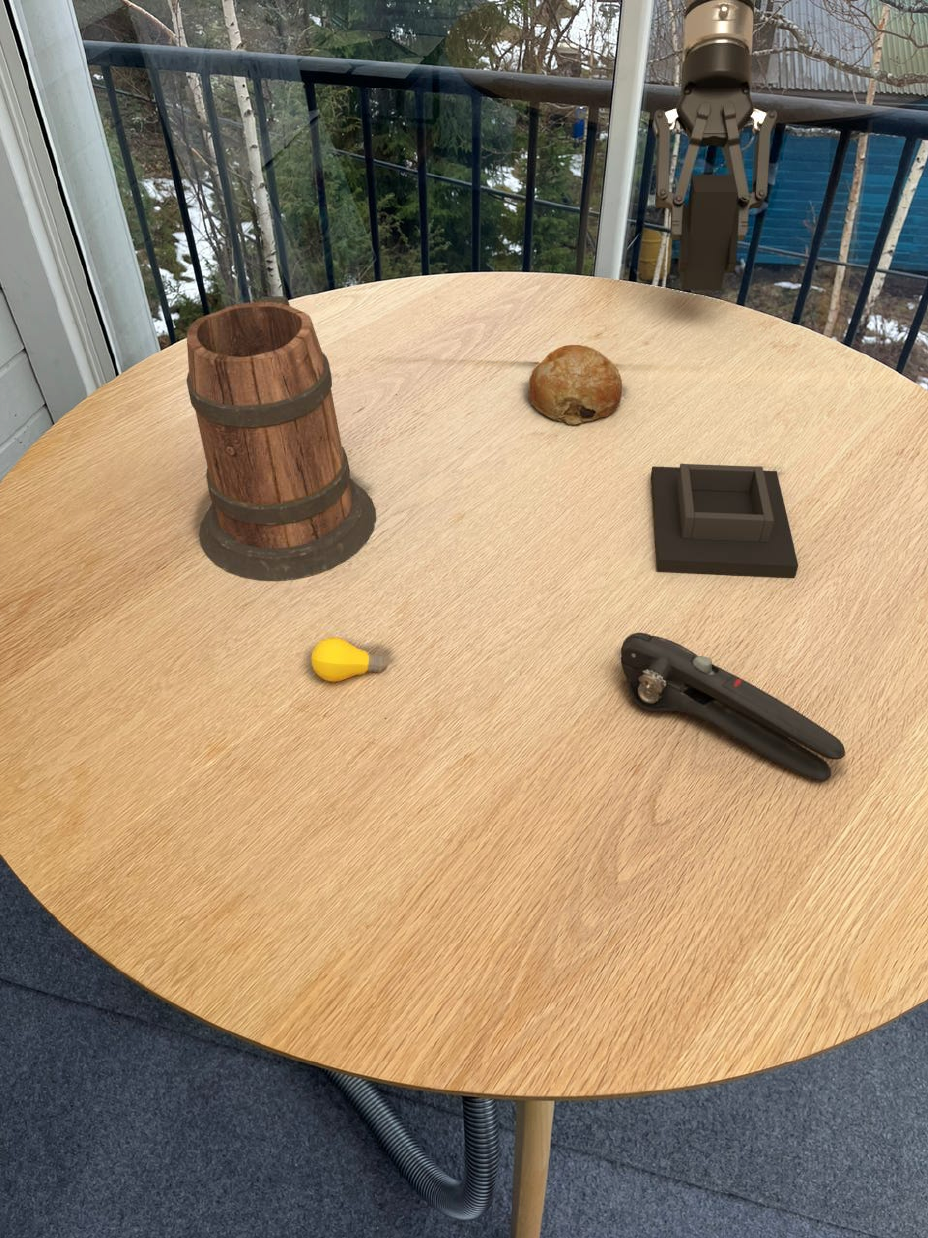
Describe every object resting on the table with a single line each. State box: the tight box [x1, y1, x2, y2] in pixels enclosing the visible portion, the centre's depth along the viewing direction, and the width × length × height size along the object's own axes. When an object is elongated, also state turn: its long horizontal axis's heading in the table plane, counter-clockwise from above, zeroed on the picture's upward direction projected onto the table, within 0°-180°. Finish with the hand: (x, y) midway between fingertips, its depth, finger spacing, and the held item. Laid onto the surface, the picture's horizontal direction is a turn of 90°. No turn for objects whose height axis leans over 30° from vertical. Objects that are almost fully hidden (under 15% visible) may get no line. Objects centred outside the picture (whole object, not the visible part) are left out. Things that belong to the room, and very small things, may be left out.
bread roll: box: [528, 344, 623, 426], centre depth 102 cm, size 10×10×8 cm
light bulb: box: [310, 636, 388, 682], centre depth 75 cm, size 3×6×4 cm, turn 96°
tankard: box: [186, 295, 377, 582], centre depth 85 cm, size 24×17×20 cm
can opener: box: [620, 632, 846, 782], centre depth 69 cm, size 18×7×6 cm, turn 50°
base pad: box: [650, 463, 799, 579], centre depth 86 cm, size 12×14×4 cm
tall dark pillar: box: [678, 174, 738, 292], centre depth 105 cm, size 4×5×11 cm
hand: (706, 267), depth 104 cm, fingers closed on tall dark pillar, 4 cm apart
